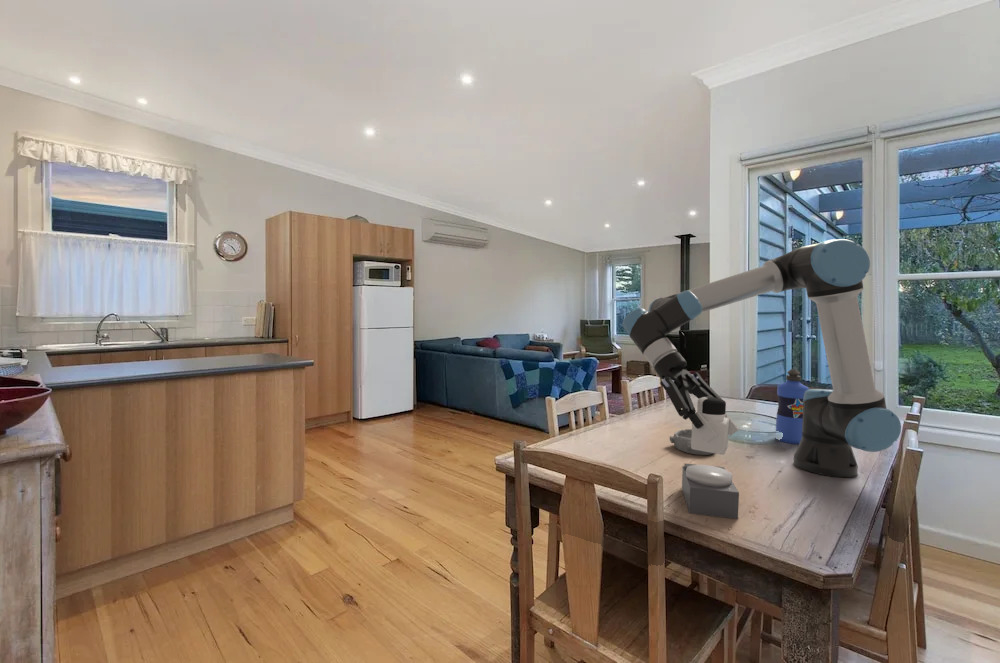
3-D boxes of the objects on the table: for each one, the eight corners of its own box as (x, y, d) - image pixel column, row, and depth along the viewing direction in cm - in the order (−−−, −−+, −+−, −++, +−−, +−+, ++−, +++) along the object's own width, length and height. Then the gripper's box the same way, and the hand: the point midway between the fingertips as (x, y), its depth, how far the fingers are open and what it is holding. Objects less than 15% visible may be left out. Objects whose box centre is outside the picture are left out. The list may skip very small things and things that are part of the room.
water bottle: (812, 444, 154) (816, 371, 152) (785, 444, 154) (788, 371, 153) (795, 436, 163) (798, 367, 162) (769, 436, 163) (772, 367, 162)
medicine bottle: (728, 447, 108) (730, 397, 108) (724, 455, 102) (726, 402, 102) (696, 441, 112) (697, 394, 111) (690, 449, 106) (692, 399, 105)
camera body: (724, 493, 113) (725, 464, 113) (737, 519, 100) (739, 485, 99) (681, 489, 116) (682, 460, 116) (689, 513, 102) (690, 480, 102)
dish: (701, 442, 157) (702, 427, 156) (728, 455, 143) (729, 439, 143) (663, 444, 154) (663, 429, 154) (686, 457, 140) (687, 441, 140)
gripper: (680, 365, 125) (735, 436, 113) (629, 372, 112) (685, 452, 100) (699, 348, 120) (759, 420, 108) (648, 352, 108) (709, 434, 96)
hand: (723, 435), depth 104 cm, fingers closed on medicine bottle, 9 cm apart
